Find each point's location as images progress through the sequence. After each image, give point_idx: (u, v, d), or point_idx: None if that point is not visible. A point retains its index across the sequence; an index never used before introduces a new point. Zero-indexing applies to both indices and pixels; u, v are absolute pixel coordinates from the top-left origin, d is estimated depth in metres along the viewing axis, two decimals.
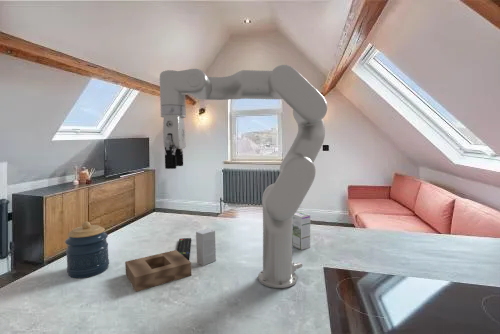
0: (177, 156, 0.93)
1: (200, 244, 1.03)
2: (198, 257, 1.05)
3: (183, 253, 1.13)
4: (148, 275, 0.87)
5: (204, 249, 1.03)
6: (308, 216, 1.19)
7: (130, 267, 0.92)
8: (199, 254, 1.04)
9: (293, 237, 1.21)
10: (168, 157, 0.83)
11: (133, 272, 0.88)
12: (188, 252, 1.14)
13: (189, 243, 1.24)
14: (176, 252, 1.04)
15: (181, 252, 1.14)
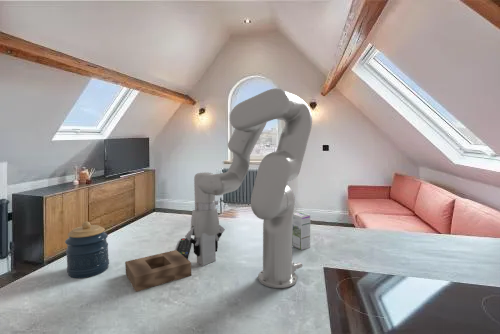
0: None
1: (200, 244, 1.03)
2: (198, 257, 1.05)
3: (182, 253, 1.13)
4: (148, 275, 0.87)
5: (204, 249, 1.03)
6: (308, 216, 1.19)
7: (130, 267, 0.92)
8: None
9: (293, 237, 1.21)
10: None
11: (133, 272, 0.88)
12: (187, 252, 1.14)
13: (190, 243, 1.24)
14: (176, 252, 1.04)
15: (180, 252, 1.14)
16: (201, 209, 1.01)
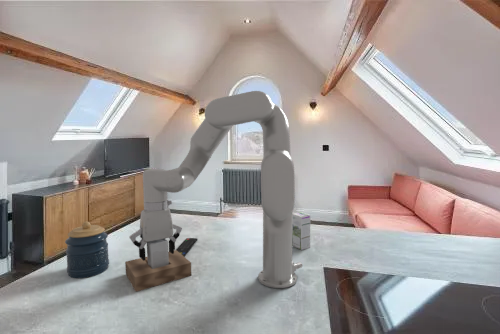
0: None
1: (149, 255, 0.93)
2: None
3: None
4: (148, 275, 0.87)
5: (153, 261, 0.93)
6: (308, 216, 1.19)
7: (130, 267, 0.92)
8: None
9: (293, 237, 1.21)
10: None
11: (133, 272, 0.88)
12: (184, 252, 1.13)
13: (192, 243, 1.24)
14: (176, 252, 1.04)
15: None
16: (150, 209, 0.91)
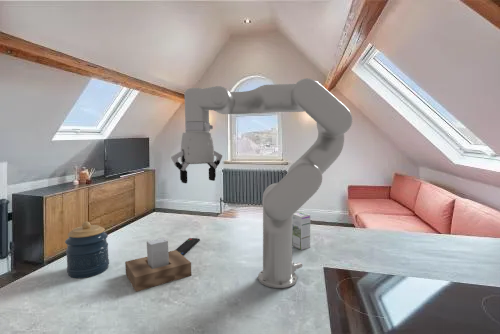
0: None
1: (149, 255, 0.93)
2: None
3: None
4: (148, 275, 0.87)
5: (153, 261, 0.93)
6: (308, 216, 1.19)
7: (130, 267, 0.92)
8: None
9: (293, 237, 1.21)
10: None
11: (133, 272, 0.88)
12: (183, 253, 1.13)
13: (193, 244, 1.23)
14: (176, 252, 1.04)
15: None
16: (192, 129, 0.86)
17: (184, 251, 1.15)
